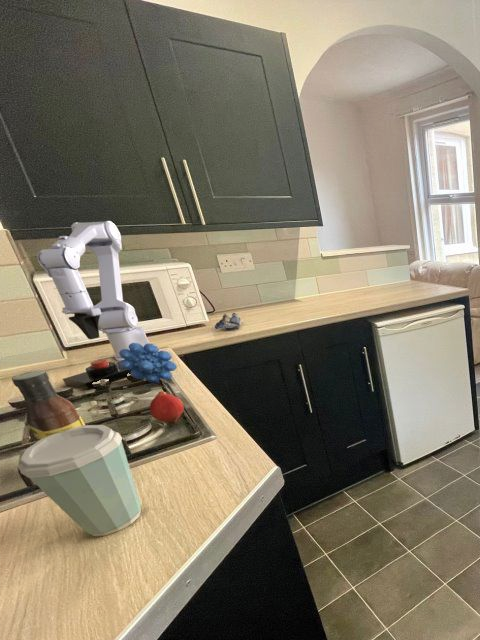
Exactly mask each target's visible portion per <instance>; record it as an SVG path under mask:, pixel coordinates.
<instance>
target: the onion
mask: <svg viewBox="0 0 480 640" xmlns="http://www.w3.org/2000/svg"><path fill="white" fill-rule="evenodd" d="M149 404H150V405H149V412H150V415H151V416H152V417H153V419H155V420H157V421H161V422H164V423H170V424H174V423H176V422H177V421H178V420H179V418H180V417H181V416H182V415H183V413H184V410H185V407H184V402H183V401H182V400H181V398H179V397H177V396H175V395H173V394H170V393H166V392H165V391H163V390H159V391H158V393H157V394H156V396H155V397H154V398H153V399H152V400H151V402H150V403H149Z"/></svg>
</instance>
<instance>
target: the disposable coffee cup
mask: <svg viewBox="0 0 480 640" xmlns="http://www.w3.org/2000/svg"><path fill="white" fill-rule="evenodd" d="M122 440H123V437H122V436H121V434H120V433H119V432H118V431H114V430H113V429H112V428H110V427H108V426H106V425H104V424H85V425H84V426H80V427H76V428H72V429H68V430H65V431H62V432H59V433H56V434H53V435H51V436H48V437H46V438H43V439H41V440H39V441H38V440H37V442H35V443H34V444H31V445H30V446H29V447H27V448H26V449H25V450H24V452H22V453H23V454H22V455H21V457H20V459H19V461H20V463H19V464H18V466H17V468H18V469H19V471H20V474H21V475H23V476H24V477H26V478H28V479H30V480H31V481H32V482H33V483H34V484H35V485H36V486H37V487H38V488H39V489H40V490H41V491H42V492H43V493H45V494H46V495H47V497H49V498H50V500H51V501H52V502H54V503H55V504H56V505H57V506H58V507H59V508H60V509H61V510H62V511H63V512H64V513H65V514H66V515H67V516H68V517H69V518H70V519H71V520H72V521H73V522H74V524H76V525H77V526H78V527H79V528H81V530H83V532H85V533H86V534H88V535H91V536H92V537H94V538H95V537H96V538H97V537H105V536H108V535H109V536H110V535H112V534H115V533H117V532H120V531H122V530H123V529H125V528H127V527H128V526H130V525H132V524H133V523H134V522H135V521H136V520H137V519H138V518H140V516H141V512H142V503H141V500H140V497H139V494H138V490H137V487H136V484H135V480H134V477H133V474H132V471H131V467H130V464H129V461H128V457H127V454H126V451H125V448H124V447H125V446H124V444H123V442H122Z"/></svg>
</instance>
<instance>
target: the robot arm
mask: <svg viewBox="0 0 480 640" xmlns="http://www.w3.org/2000/svg"><path fill="white" fill-rule="evenodd" d="M70 227H71V233H70V235H60V236H59V237H58V240H56V242H55V243H53V244H51V246H50V247H49V248H47V249H46V248H44V249H41V250H40V251H39V252H38V253H37V263H38V264H39V266H40V267H41V268H42V269H43V270H44V271H45V273H46V274H47V276H48V278H51V279H52V281H53V284H54V286H55V287H56V289H57V292H58V294H59V296H60V298H61V301H62V302H63V304H64V305H63V306H64V307H62V310H61V313H62V314H64V315H73V316H69V317H68V320H69V321H71V322H72V323H74V324H75V325H76V326H77V327H78V328H79V329H80V330H81V332H82V333H83V334H84V335H85V337H86V338H87V339H88V340H94V339H99V338H100V332H101V333H102V334H105V335H106V337H107V339H108V342H109V344H110V346H111V348H112V350H113V352H114V355H113V357H114V359H115V360H116V362H121V361H122V360H124V359H123V358H122V357H121V356H120V354H119V352H120V350H122V349H129V345H130V344H131V343H139V344H141V345H142V346H143V347H144V345H146V344H151V343H150V341H149V339H148V337H147V334H146V332H145V330H144V328H143V327H142V326H138V323H139V319H138V316H137V314H136V309H135V308H134V306H132V305H131V304H129V303H128V302H126V301H124V297H123V287H122V278H121V268H120V257H119V253H120V252H121V251H123V250H122V249H123V248H122V247H123V245H122V235H121V232H120V230H119V229H118V226H117V225H116V224H115V223H113V222H112V221H111V220H106V221H91V222H90V221H88V222H76V221H75V222H73V223H72V224H71V225H70ZM86 251H87V252H88V253H91V254H94V255H96V256H97V264H98V274H99V284H100V295H101V300H100V301H98V303H96V304H95V305H94V304H93V301H92V299H91V297H90V293H89V292H88V290H87V288H86V285H85V283H84V281H83V279H82V276H81V274H80V272H79V268H80V267H81V263H80V261H81V257H82V256H83V255H84V254H85V252H86ZM129 350H130V349H129Z"/></svg>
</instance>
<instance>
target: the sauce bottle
mask: <svg viewBox="0 0 480 640" xmlns="http://www.w3.org/2000/svg"><path fill="white" fill-rule="evenodd" d="M11 381H12V384H13V385H14V386H15V387H16V388H18V390H19V391H20V394H21V395H22V396H23V399H24V402H25V412H26V424H27V425H28V427H29V429H30V430H31V432H32V433H33V435H34V436H35V438H36V440H37V442H38V441H39V440H41V439H43V438H46V437H48V436H51V435H53V434H56V433H59V432H62V431H65V430H68V429H72V428H76V427H80V426H84V425H86V424H85V421H84V420H83V418H82V417H81V415H80V414H79V413H78V411H77V409H76V407H75V405H74V403H72V402H71V401H70V400H68V399H67V398H65V397H62V395H61V396H60V395H59V394H58V393H57V390H56V389H55V388H54V387H53V385H52V383H51V381H50V377H49V374H48V373H47V371H46V370H43V369H36V370H35V369H34V370H30V371H25V372H22V373H19V374H16V375H14V376H12V377H11Z"/></svg>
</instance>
